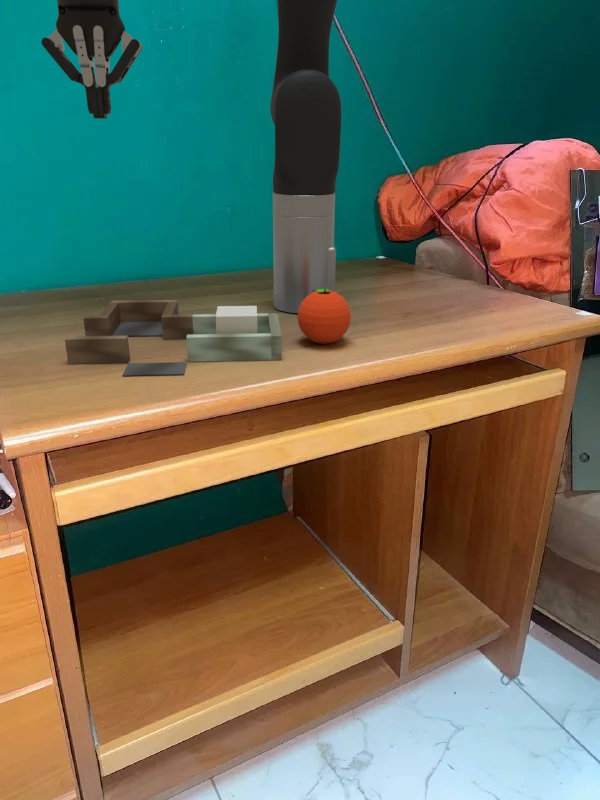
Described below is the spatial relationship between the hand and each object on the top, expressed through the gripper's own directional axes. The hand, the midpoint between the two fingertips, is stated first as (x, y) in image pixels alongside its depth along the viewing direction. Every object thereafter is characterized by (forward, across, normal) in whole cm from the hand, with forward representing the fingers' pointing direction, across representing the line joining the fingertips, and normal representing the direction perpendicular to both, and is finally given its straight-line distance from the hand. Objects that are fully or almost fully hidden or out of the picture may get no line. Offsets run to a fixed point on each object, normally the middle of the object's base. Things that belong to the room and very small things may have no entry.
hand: (100, 118), depth 85 cm
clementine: (+27, -29, +16) cm, 43 cm away
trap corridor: (+27, -11, +16) cm, 33 cm away
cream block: (+27, -18, +18) cm, 37 cm away
